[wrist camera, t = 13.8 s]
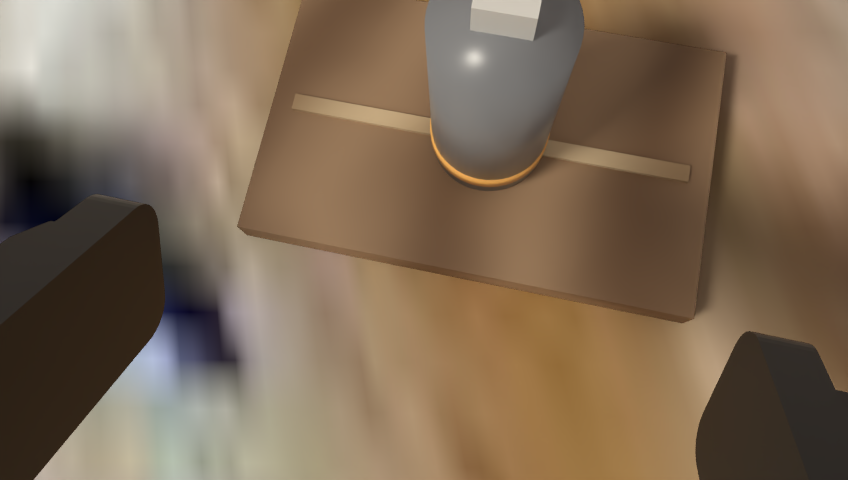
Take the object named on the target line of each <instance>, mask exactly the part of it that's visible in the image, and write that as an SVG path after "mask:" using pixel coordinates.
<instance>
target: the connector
mask: <svg viewBox="0 0 848 480" xmlns="http://www.w3.org/2000/svg"><path fill="white" fill-rule="evenodd" d="M583 36H584V16H583V10H582V7H581V4H580V1H579V0H429V2H428V6H427V9H426V14H425V43H426V57H427V71H428V85H429V99H430V113H431V119H430V134H431V142H432V146H433V149H434V152H435V155H436V158H437V160H438V162H439V164H440V165H441V167H442V168H443V170H444V171H445V172H446V173H447V174H448V175H449V176H450V177H451V178H452V179H454V180H455V181H456V182H458V183H460V184H462V185H464V186H466V187H469V188H472V189H476V190H482V191H496V190H502V189H506V188H509V187H511V186H514V185H516V184H517V183H519V182H521V181H522V180H524V179H525V178H526V177H527V176H528V175H529V174H530V173H531V172H532V171H533V170H534V169H535V167H536V166H537V164H538V163H539V161H540V159H541V158H542V156H543V154H544V151H545V149H546V146H547V143H548V140H549V136H550V131H551V128H552V125H553V122H554V119H555V117H556V114H557V111H558V108H559V106H560V103H561V100H562V97H563V95H564V92H565V89H566V86H567V83H568V81H569V78H570V75H571V72H572V70H573V67H574V64H575V61H576V58H577V56H578V53H579V50H580V47H581V44H582V40H583Z"/></svg>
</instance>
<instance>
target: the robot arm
mask: <svg viewBox="0 0 848 480" xmlns="http://www.w3.org/2000/svg"><path fill="white" fill-rule="evenodd" d="M164 303H165V290H164V279H163V269H162V258H161V248H160V238H159V227H158V219H157V215H156V212H155V210H154V209H153V208H152V207H151V206H150V205H147V204H142V203H138V202H133V201H128V200H123V199H118V198H114V197H109V196H104V195H99V194H94V195H91V196H89V197H87V198H86V199H84V200H83V201H82V202H80V203H79V204H78V205H76V206H75V207H74V208H73V209H71V210H70V211H69V212H67V213H66V214H65V215H63V216H62V217H61V218H59V219H58V220H57V221H55V222H53V221H49V222H46V223H44V224H41V225H39V226H36V227H34V228H31V229H29V230H26V231H23V232H21V233H18V234H16V235H13V236H11V237H9V238H8V239H6V240H5V241H4V242H2V243H1V244H0V480H34V478H35V477H36V476H37V475H38V474H39V472H40V471H41V470H42V469H43V468H44V466H45V465H46V464H47V463H48V462H49V460H50V459H51V458H52V457H53V456H54V454H55V453H56V452H57V451H58V450H59V448H60V447H61V446H62V445H63V444H64V442H65V441H66V440H67V439H68V438H69V436H70V435H71V434H72V433H73V432H74V430H75V429H76V428H77V427H78V426H79V424H80V423H81V422H82V421H83V420H84V418H85V417H86V416H87V415H88V414H89V412H90V411H91V410H92V409H93V408H94V406H95V405H96V404H97V403H98V402H99V400H100V399H101V398H102V397H103V396H104V394H105V393H106V392H107V391H108V389H109V388H110V387H111V386H112V385H113V383H114V382H115V381H116V380H117V379H118V377H119V376H120V375H121V374H122V373H123V371H124V370H125V369H126V368H127V367H128V365H129V364H130V363H131V362H132V361H133V359H134V358H135V357H136V356H137V355H138V353H139V352H140V351H141V350H142V349H143V347H144V346H145V345H146V344H147V343H148V341H149V340H150V339H151V338H152V336H153V335H154V333H155V331H156V330H157V328H158V325H159V323H160V320H161V317H162V314H163V310H164ZM696 464H697V469H698V474H699V480H848V393H847V392H843V391H838V390H835V388H834V386H833V384H832V381H831V379H830V377H829V375H828V373H827V371H826V369H825V367H824V364H823V362H822V360H821V358H820V356H819V354H818V352H817V350H816V348H815V347H814V346H813V345H811V344H808V343H804V342H799V341H794V340H789V339H784V338H780V337H775V336H770V335H765V334H760V333H756V332H750V331H748V332H745V333H744V334H743V335H742V336H741V337H740V338H739V340H738V341H737V343H736V345H735V347H734V349H733V351H732V353H731V355H730V357H729V359H728V362H727V364H726V366H725V368H724V370H723V372H722V374H721V376H720V378H719V381H718V383H717V385H716V387H715V389H714V391H713V393H712V395H711V397H710V400H709V402H708V404H707V406H706V408H705V410H704V412H703V415H702V417H701V420H700V423H699V427H698V432H697V438H696Z"/></svg>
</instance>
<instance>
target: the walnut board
mask: <svg viewBox="0 0 848 480" xmlns="http://www.w3.org/2000/svg"><path fill="white" fill-rule="evenodd" d="M427 6H428V2H423V1H417V0H302V2H301V5H300V9H299V12H298V16H297V19H296V23H295V26H294V30H293V33H292V37H291V40H290V44H289V47H288V51H287V54H286V58H285V61H284V65H283V68H282V72H281V75H280V79H279V82H278V86H277V89H276V93H275V96H274V100H273V103H272V107H271V110H270V114H269V117H268V121H267V124H266V128H265V131H264V135H263V138H262V142H261V145H260V149H259V152H258V156H257V159H256V163H255V166H254V170H253V173H252V177H251V180H250V184H249V187H248V191H247V194H246V197H245V201H244V204H243V208H242V211H241V215H240V218H239V222H238V225H237V227H238V228H240V229H241V230H242V231H243V232H244V233H245V234H246V235H250V236H255V237H260V238H265V239H270V240H275V241H280V242H285V243H290V244H294V245H299V246H304V247H309V248H314V249H319V250H324V251H329V252H334V253H339V254H344V255H349V256H354V257H359V258H364V259H368V260H373V261H378V262H383V263H388V264H393V265H398V266H403V267H408V268H413V269H418V270H423V271H428V272H433V273H438V274H442V275H447V276H452V277H457V278H462V279H467V280H472V281H477V282H482V283H487V284H492V285H497V286H502V287H507V288H512V289H516V290H521V291H526V292H531V293H536V294H541V295H546V296H551V297H556V298H561V299H566V300H571V301H576V302H581V303H586V304H590V305H595V306H600V307H605V308H610V309H615V310H620V311H625V312H630V313H635V314H640V315H645V316H650V317H655V318H660V319H664V320H669V321H674V322H679V323H684V322H687V321H689V320H692V319H694V315H695V307H696V299H697V290H698V282H699V274H700V266H701V258H702V250H703V241H704V233H705V225H706V217H707V209H708V201H709V192H710V184H711V176H712V168H713V160H714V152H715V143H716V135H717V127H718V119H719V111H720V103H721V94H722V86H723V78H724V70H725V62H726V52H720V51H714V50H708V49H702V48H696V47H690V46H684V45H678V44H672V43H666V42H661V41H655V40H649V39H643V38H637V37H631V36H625V35H619V34H613V33H607V32H601V31H595V30H589V29H584V36H583V40H582V44H581V47H580V50H579V53H578V56H577V58H576V61H575V64H574V67H573V70H572V72H571V75H570V78H569V81H568V83H567V86H566V89H565V92H564V95H563V97H562V100H561V103H560V106H559V108H558V111H557V114H556V117H555V119H554V122H553V125H552V128H551V131H550V136H549V140H548V143H547V146H546V149H545V151H544V154H543V156H542V158H541V159H540V161H539V163H538V164H537V166H536V167H535V169H534V170H533V171H532V172H531V173H530V174H529V175H528V176H527V177H526V178H525V179H524V180H522V181H521V182H519V183H517V184H516V185H514V186H511V187H509V188H506V189H502V190H496V191H482V190H476V189H472V188H469V187H466V186H464V185H462V184H460V183H458V182H456V181H455V180H454V179H452V178H451V177H450V176H449V175H448V174H447V173H446V172H445V171H444V170H443V168H442V167H441V165H440V164H439V162H438V160H437V158H436V155H435V152H434V149H433V146H432V142H431V134H430V119H431V113H430V99H429V85H428V71H427V57H426V43H425V14H426V9H427Z"/></svg>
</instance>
